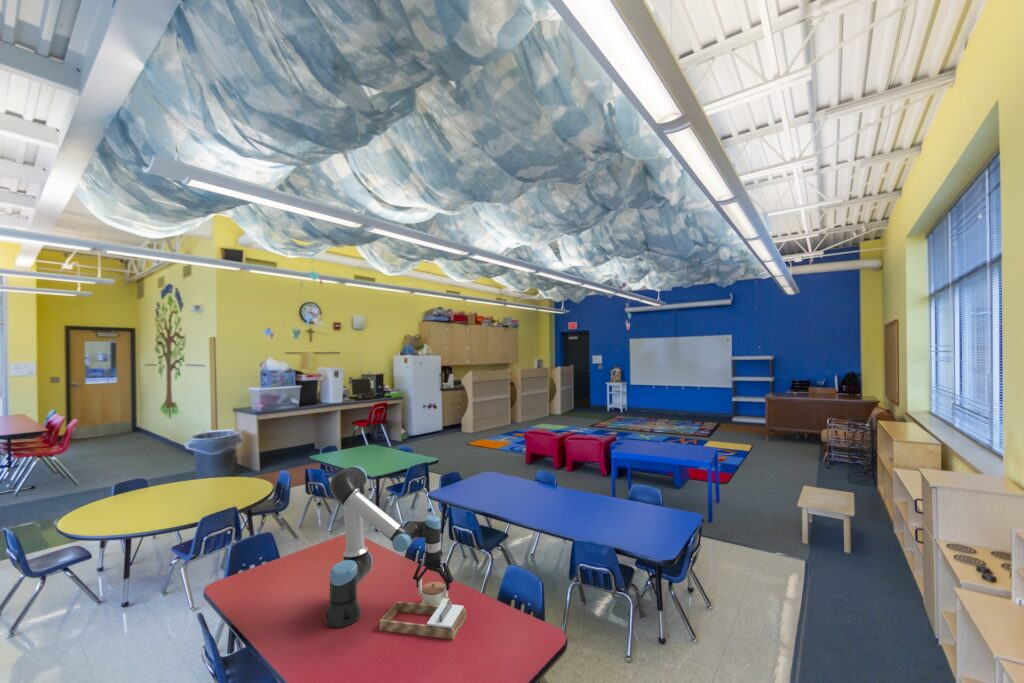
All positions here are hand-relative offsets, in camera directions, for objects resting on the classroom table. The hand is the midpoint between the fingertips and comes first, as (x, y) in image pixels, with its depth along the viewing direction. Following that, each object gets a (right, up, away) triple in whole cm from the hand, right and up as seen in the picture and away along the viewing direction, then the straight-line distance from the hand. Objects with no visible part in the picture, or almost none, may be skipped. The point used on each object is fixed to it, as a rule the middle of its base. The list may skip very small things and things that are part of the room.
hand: (433, 595), depth 208 cm
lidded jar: (0, -4, 0) cm, 4 cm away
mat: (0, -4, 0) cm, 4 cm away
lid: (+9, +1, -18) cm, 20 cm away
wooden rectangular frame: (-1, -3, -16) cm, 16 cm away
